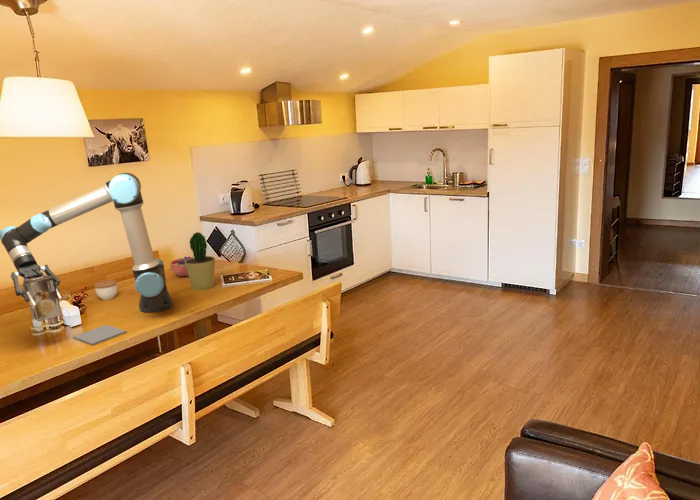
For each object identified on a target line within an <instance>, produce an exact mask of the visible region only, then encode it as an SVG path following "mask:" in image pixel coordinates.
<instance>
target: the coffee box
mask: <svg viewBox="0 0 700 500" xmlns="http://www.w3.org/2000/svg"><path fill="white" fill-rule="evenodd" d="M24 283H25V286H26V292H29V293H30V295H31V297H32V299H33V300H34V302H35V304H36V306H35V308H34V309H32V307H31V305H30V303H29V302H28V304H29V310H30V314H31V318H32V320H35V321H36V322H42V321H45V320H48V319H52V318H56V317H57V316H58V317H59V316H62V309H61V305H60V301H59V299H58V294H57V290H56V285H55V281H54V277H52V276H48V275H46V276H42V277H38V278H32V279H29V280H26V281H24Z"/></svg>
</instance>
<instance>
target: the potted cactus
mask: <svg viewBox="0 0 700 500" xmlns="http://www.w3.org/2000/svg"><path fill="white" fill-rule="evenodd" d="M206 236H207V235H204V234H202V232H200V231H198V232H197V231H195V232H194V233H192V235H191V236H190V238H189V247H190V251H191V253H192V255H193V258H190V259H188V260H186V261H185V265H186V268H187V272H188V275H189V276H188V279H189V282H190V285H191V288H192V290H194V291H204V290H209V289H212V288H214V287H215V270H216V269H215V266H216V257H214V256H209V255H207V252H208V251H207V250H209V247H208V243H207V239H206Z"/></svg>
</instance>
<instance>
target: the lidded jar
mask: <svg viewBox="0 0 700 500" xmlns="http://www.w3.org/2000/svg"><path fill="white" fill-rule="evenodd" d="M93 288H94V291H95V294H96V296H97V297H98V298H100V299H101V300H102V301H104V300H105V301H106V300H111V299H114V298H115V297H116V294H117V292H118V282H117V280H113V279H111V280H106V279H103V281H98V282H96V283H95V284H93Z"/></svg>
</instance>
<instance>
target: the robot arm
mask: <svg viewBox="0 0 700 500" xmlns="http://www.w3.org/2000/svg"><path fill="white" fill-rule="evenodd" d="M141 189H142V184H141V181H140V179H139V178H138V177H137V176H136V175H135V174H133V173H129V172H123V173H119V174H118V175H116V176H114V177H113V178H112V179H111V180H108V181H105V182H104V185H103V186H100V187H98V188H96V189H93V190H91V191H88V192H86V193H84V194H82V195H80V196H77V197H75V198H72V199H70V200H68V201H67V202H64V203H61V204H59V205H57V206H54V207H52V208H50V209H48V210H45V211H43V212H39V213H37V214H35V215H33V216H32V217H31V218H29V219H28V220H26V221H25V222H23V223H22V224H20V225H19V226H15V225H10V226H6V227H3V228H2V229H1V230H0V243H1V244H2V246H3V247H4V249H5V250H6V252H7V254H8V256H9V258H10V261H11V262H12V263H13V266H14V267H15V269H16V272H14V271H12V272H11V273H10V278H11V280H12V281H13V287H14V292H15V295H16V296H17V297H19V296H21V297H22V298H24V299H23V300H24V301H25V302H26V303H28V304H29V303H30V305H31V307H32V309H34V308H35V306H36V304H35V302H34V300H33V299H32V297H31V295H30V293H29V292H26V286H25V283H24V281H26V280H30V279H34V278H38V277H42V276H47V275H48V276H52V277H54V281H55V285H56V290H57V294H58V299H59V302H61V300H62V296H61V294H60V292H61V290H60V288H59V286H60V283H61V280H60V278H59V277H58V276H56V274H55V273H54V272H53V271H52V270H51V269H50V268H49V265H48V264H44V265H43V266H40V265H39V264H38V262H37V260H36V259H35V256H33V253H32V251H31V250H30V248H29V246H28V244H29V243H31V242H32V241H33V240H35V239H37V238H38V237H40V236H41V235H44V233H46V232H48V231H49V230H50V229H53V228H55V227H57V226H59V225H61V224H63V223H64V224H65V223H66V222H68V221H70V220H73V219H75V218H78V217H79V216H83V215H85V214H86V213H87V214H88V213H89V212H92V211H94V210H95V209H97V208H100V207H103V206H105V205H107V204H110V203H112V202H113V204H114V205H113V206H114V209H115V210H117V211H118V212H119V213H120V216H121V220H122V224H123V227H124V231H125V234H126V238H127V242H128V246H129V249H130V253H131V256H132V259H133V264H134V265H133V266H132V268H131V270H132V273H133V277H134V278H133V279H134V288H135V290H136V292H137V293H138V294H139V295H140V299H139V303H138V308H139V311H140V312H142V313H158V312H163V311H165V310H169V309H170V308H172V307H173V305H174V303H173V298H172V296H171V295H170V292H169V291H168V288H167V280H166V274H165V272H166V271H165V264H164V261H163V259H160V258H159V259H157V258H156V259H155V256H154V252H153V248H152V244H151V241H150V237H149V233H148V230H147V225H146V222H145V217H144V215H143V210H142V206H143V204H144V200H143V195H142V191H141ZM44 273H45V274H44ZM19 276H20V277H21V278H23V282H22V290H21V288H20V283H19ZM30 305H29V306H30Z"/></svg>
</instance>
